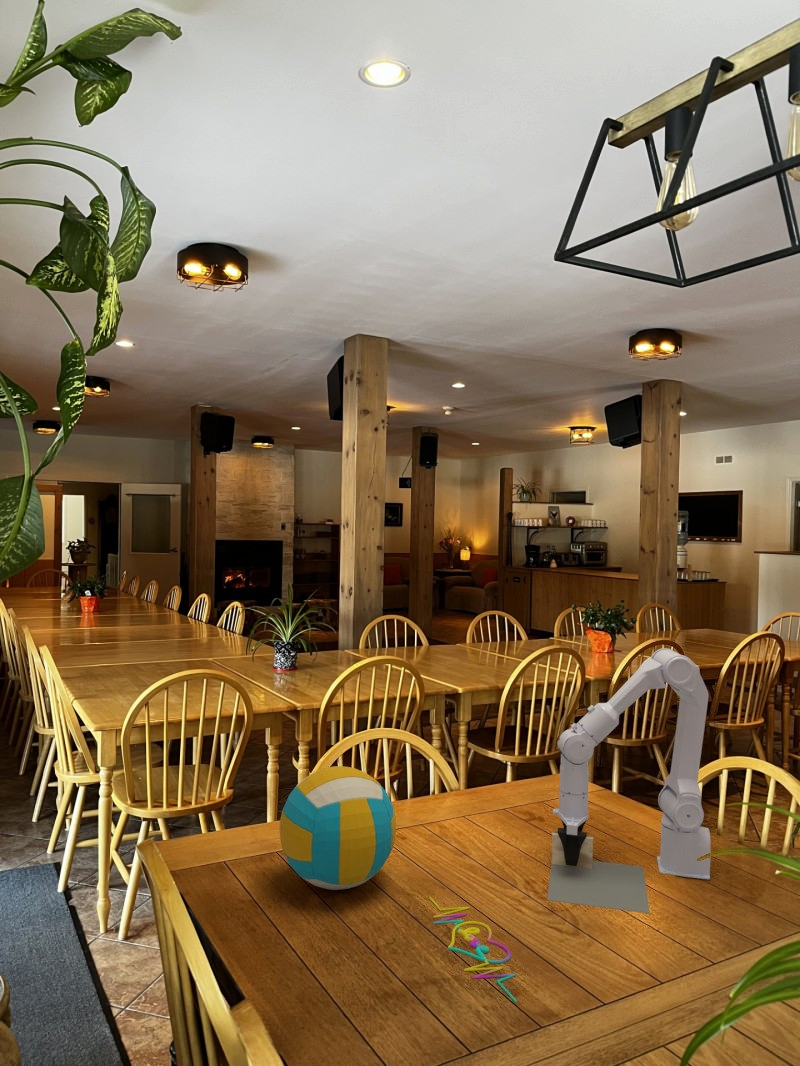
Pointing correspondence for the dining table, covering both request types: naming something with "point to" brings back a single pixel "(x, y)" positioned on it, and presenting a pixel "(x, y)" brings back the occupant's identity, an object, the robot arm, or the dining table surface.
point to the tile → (584, 855)
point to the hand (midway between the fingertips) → (571, 857)
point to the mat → (600, 886)
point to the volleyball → (337, 828)
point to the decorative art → (475, 945)
